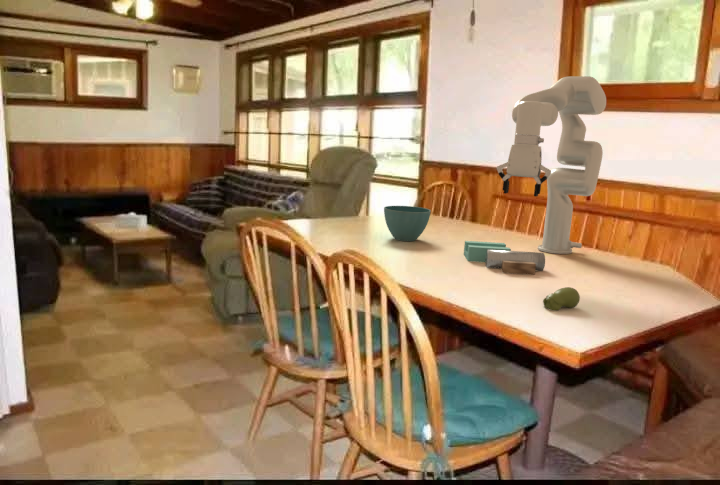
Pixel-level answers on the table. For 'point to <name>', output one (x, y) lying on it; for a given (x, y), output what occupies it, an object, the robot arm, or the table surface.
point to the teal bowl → (406, 221)
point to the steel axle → (513, 258)
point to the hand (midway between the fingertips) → (520, 194)
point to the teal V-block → (481, 250)
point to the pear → (562, 299)
